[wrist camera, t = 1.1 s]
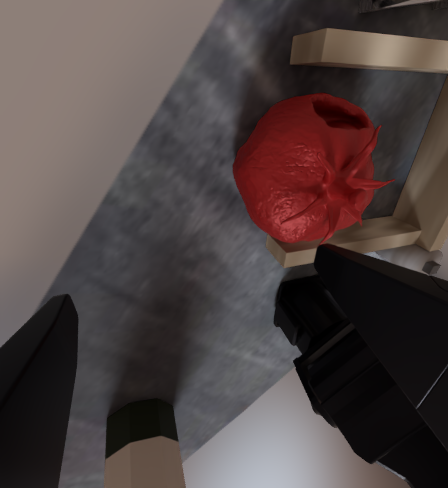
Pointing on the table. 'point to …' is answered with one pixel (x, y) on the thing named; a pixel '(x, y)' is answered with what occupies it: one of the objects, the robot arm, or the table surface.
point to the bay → (424, 166)
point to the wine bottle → (143, 447)
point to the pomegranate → (308, 168)
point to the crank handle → (397, 4)
